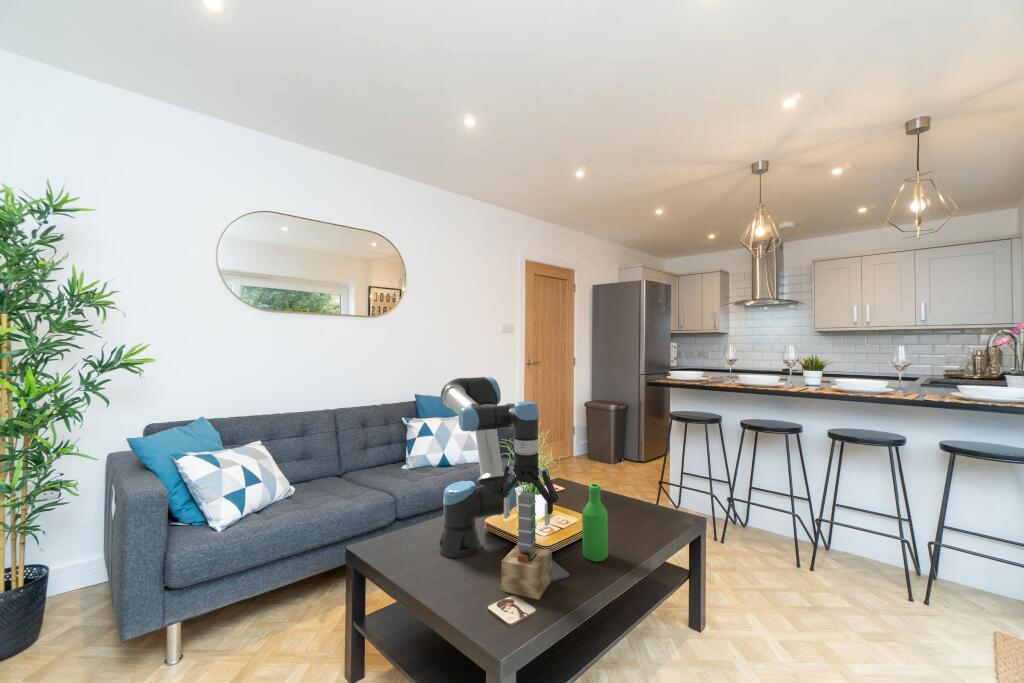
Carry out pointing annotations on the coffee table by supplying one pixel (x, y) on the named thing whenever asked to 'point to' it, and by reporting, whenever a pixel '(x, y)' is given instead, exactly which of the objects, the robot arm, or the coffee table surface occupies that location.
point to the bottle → (595, 527)
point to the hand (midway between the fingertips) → (526, 520)
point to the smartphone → (558, 572)
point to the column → (526, 524)
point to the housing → (526, 573)
